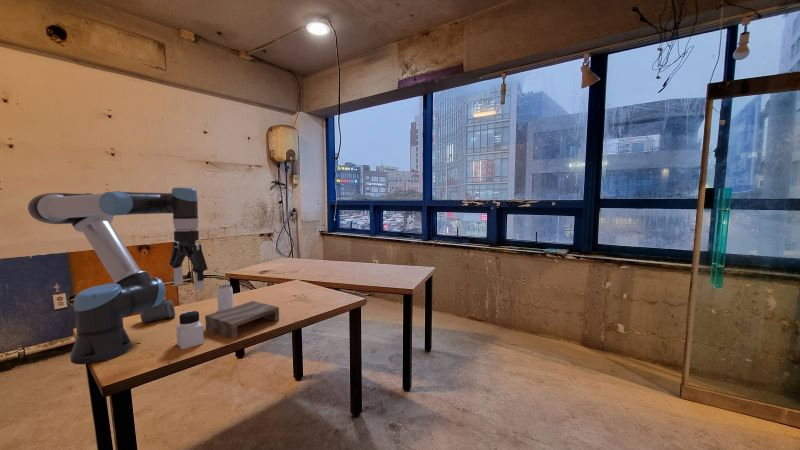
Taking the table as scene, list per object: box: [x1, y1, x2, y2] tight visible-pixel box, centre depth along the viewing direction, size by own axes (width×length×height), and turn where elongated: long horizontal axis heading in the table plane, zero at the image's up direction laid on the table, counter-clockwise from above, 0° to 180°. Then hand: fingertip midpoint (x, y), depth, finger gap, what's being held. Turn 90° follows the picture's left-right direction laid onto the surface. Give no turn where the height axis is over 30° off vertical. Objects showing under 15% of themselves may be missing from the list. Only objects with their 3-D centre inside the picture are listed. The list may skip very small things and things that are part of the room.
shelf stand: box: [204, 300, 280, 340], centre depth 133 cm, size 18×22×6 cm
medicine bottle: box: [175, 310, 205, 351], centre depth 115 cm, size 7×7×12 cm
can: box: [216, 284, 234, 312], centre depth 151 cm, size 6×6×12 cm
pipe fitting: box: [139, 296, 176, 324], centre depth 138 cm, size 12×8×10 cm, turn 133°
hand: (188, 287), depth 114 cm, fingers open, 13 cm apart
